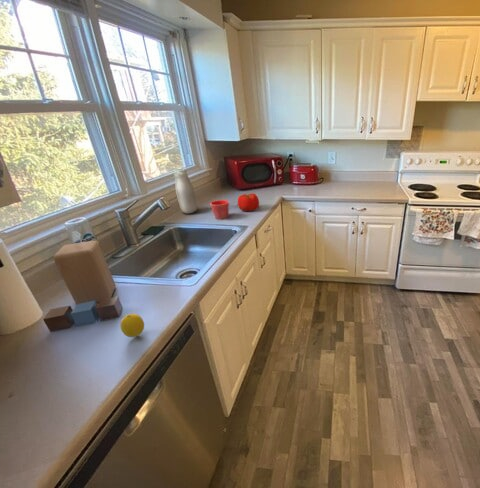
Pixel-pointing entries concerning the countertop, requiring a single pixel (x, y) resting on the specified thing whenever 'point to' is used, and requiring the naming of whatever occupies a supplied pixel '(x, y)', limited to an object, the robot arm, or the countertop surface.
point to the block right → (109, 308)
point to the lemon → (132, 325)
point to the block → (85, 271)
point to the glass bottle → (185, 192)
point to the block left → (59, 318)
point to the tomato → (248, 202)
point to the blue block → (85, 313)
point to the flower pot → (220, 209)
